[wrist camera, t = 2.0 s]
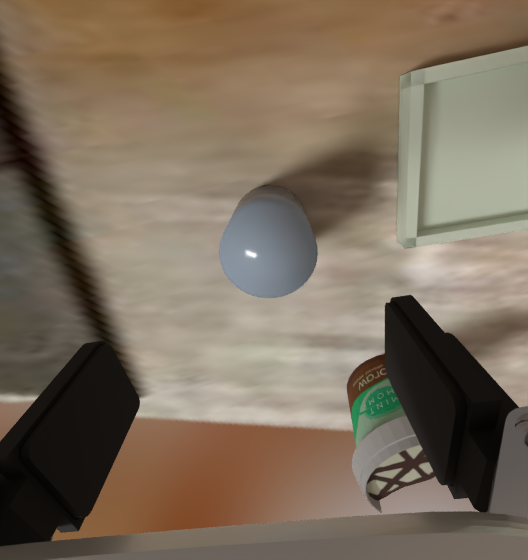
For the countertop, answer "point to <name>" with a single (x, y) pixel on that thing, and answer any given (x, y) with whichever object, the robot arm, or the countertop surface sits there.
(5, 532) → the robot arm
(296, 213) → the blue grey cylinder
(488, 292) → the countertop surface
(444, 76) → the tray
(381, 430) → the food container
